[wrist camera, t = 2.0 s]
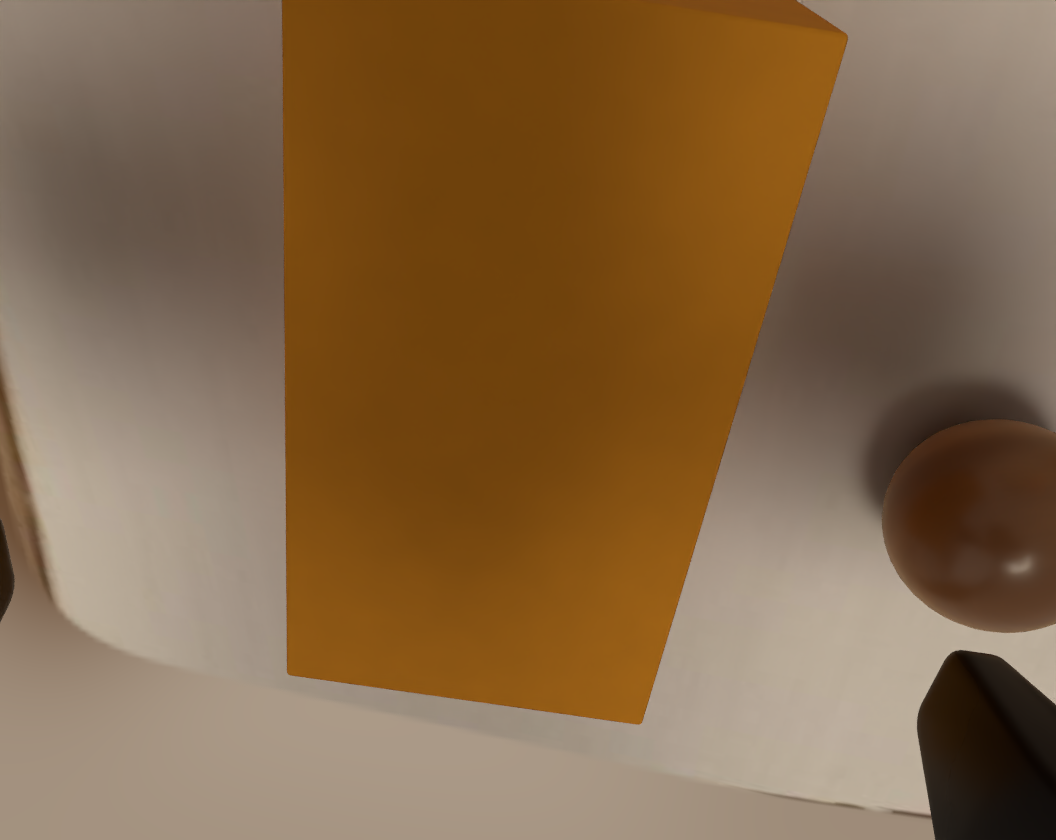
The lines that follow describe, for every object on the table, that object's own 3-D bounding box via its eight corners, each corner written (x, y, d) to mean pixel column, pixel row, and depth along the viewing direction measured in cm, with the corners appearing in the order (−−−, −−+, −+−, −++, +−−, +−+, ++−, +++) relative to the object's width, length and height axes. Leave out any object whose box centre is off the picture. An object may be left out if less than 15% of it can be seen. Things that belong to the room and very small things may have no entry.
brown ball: (1012, 552, 18) (1099, 693, 15) (834, 525, 18) (884, 662, 15) (1096, 397, 16) (1215, 522, 13) (898, 366, 16) (970, 485, 13)
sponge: (630, 525, 18) (641, 726, 14) (358, 485, 18) (285, 675, 14) (765, -22, 13) (850, 34, 9) (383, -82, 13) (280, -56, 9)
